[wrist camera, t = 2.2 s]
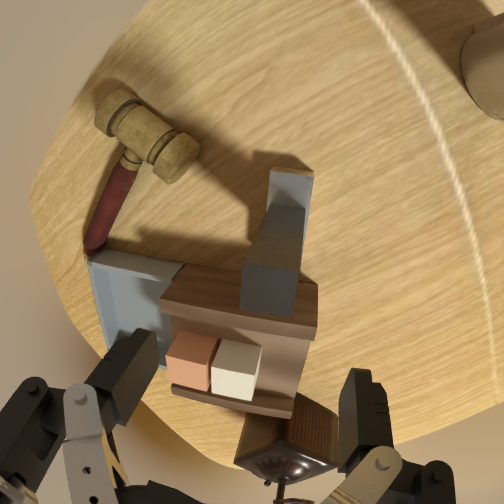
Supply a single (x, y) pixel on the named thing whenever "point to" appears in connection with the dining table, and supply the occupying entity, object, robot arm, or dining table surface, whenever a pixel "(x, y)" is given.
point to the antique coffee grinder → (289, 446)
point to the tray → (132, 295)
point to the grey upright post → (278, 245)
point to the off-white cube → (235, 369)
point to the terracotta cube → (191, 359)
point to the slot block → (244, 335)
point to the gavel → (135, 157)
